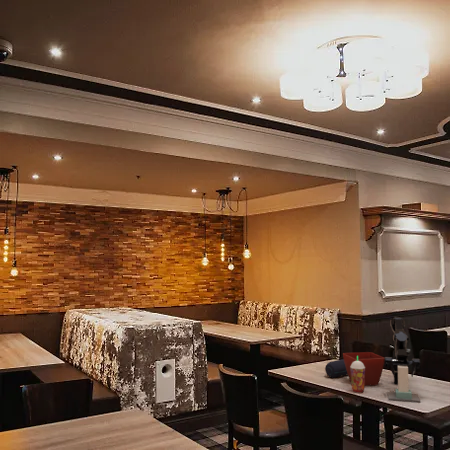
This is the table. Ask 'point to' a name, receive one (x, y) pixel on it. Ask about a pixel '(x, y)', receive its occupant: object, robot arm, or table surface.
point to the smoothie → (357, 376)
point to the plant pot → (366, 366)
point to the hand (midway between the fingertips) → (403, 376)
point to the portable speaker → (336, 368)
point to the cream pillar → (403, 379)
